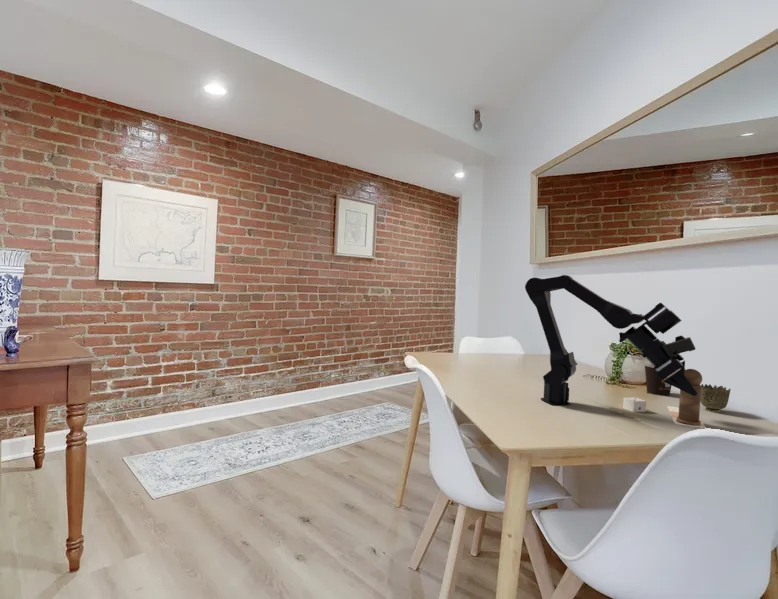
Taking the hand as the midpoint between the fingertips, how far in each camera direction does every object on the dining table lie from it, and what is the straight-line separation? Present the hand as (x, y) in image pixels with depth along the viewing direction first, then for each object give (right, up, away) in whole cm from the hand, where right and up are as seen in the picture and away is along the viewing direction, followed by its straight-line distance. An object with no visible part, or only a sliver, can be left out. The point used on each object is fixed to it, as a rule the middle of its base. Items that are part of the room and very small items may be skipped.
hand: (696, 391), depth 110 cm
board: (+2, -9, +7) cm, 12 cm away
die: (-9, -9, +12) cm, 17 cm away
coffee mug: (+14, -9, +34) cm, 38 cm away
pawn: (-1, -8, +1) cm, 8 cm away
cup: (+15, -10, +14) cm, 23 cm away
